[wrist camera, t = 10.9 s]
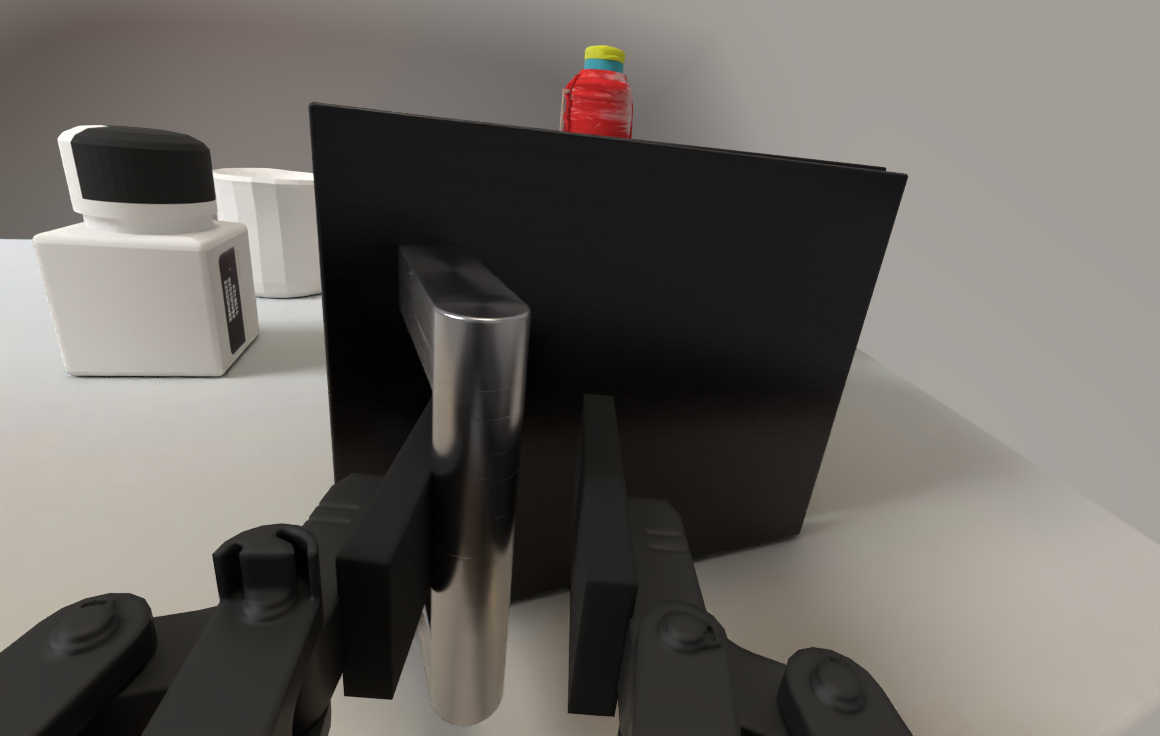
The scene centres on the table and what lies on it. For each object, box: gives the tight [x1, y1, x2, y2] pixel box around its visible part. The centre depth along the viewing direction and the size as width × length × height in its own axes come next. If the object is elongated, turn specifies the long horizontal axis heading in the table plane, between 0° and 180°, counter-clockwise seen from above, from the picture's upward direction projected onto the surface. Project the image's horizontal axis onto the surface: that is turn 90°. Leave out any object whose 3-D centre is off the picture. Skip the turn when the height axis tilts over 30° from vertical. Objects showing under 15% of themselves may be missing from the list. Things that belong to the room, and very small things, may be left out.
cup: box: [212, 168, 321, 298], centre depth 49 cm, size 10×10×10 cm
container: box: [33, 125, 259, 376], centre depth 32 cm, size 8×8×13 cm
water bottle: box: [560, 46, 633, 139], centre depth 65 cm, size 12×8×25 cm, turn 115°
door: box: [309, 102, 908, 726], centre depth 16 cm, size 7×18×15 cm, turn 113°
